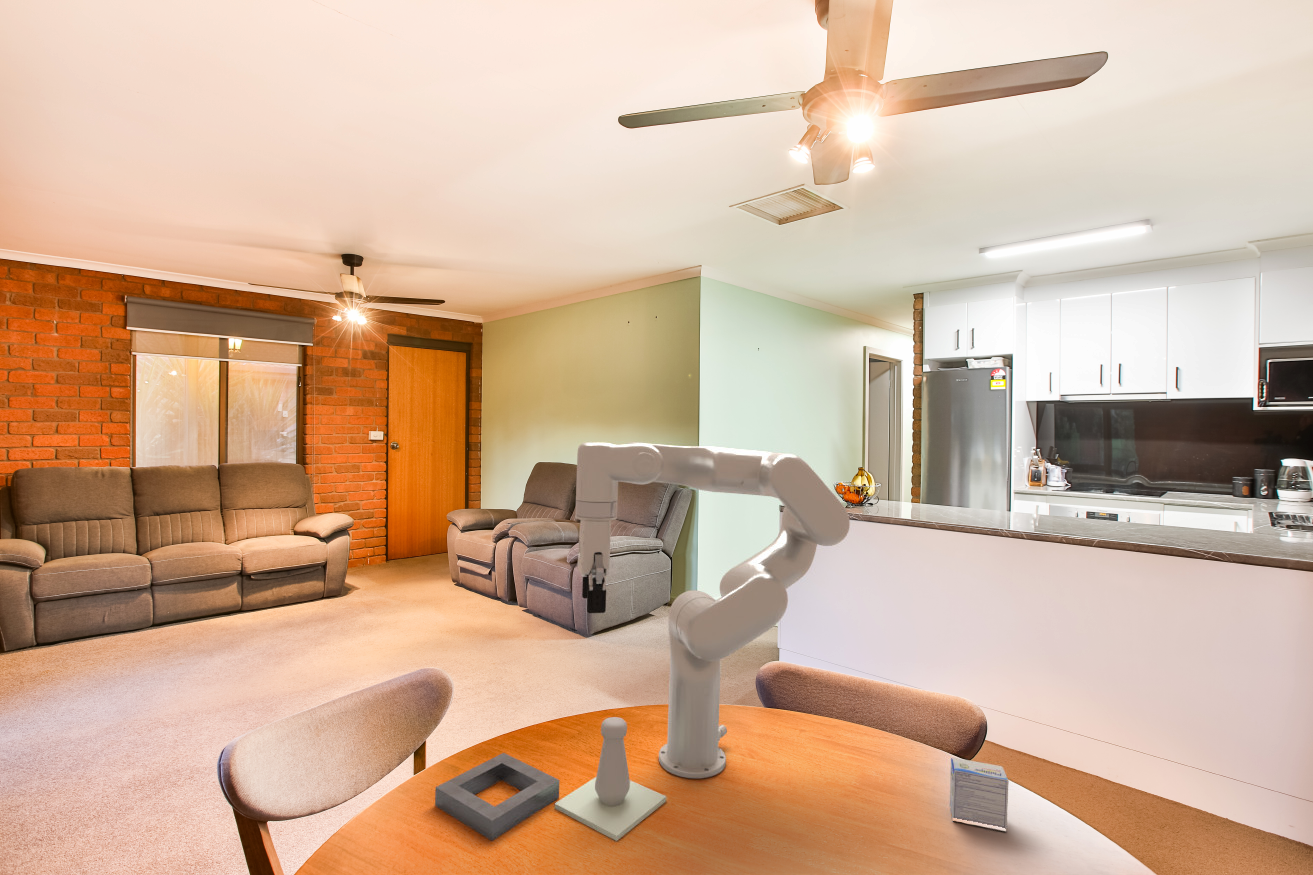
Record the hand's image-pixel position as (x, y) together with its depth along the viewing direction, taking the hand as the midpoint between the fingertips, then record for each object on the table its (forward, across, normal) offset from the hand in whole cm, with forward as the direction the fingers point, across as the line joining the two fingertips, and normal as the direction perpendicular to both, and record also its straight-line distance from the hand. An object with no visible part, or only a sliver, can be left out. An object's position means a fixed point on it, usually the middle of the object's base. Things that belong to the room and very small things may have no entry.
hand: (593, 604), depth 112 cm
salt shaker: (+29, +11, +3) cm, 31 cm away
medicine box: (+30, +24, +61) cm, 72 cm away
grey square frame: (+30, +8, -15) cm, 34 cm away
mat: (+30, +11, +3) cm, 32 cm away
